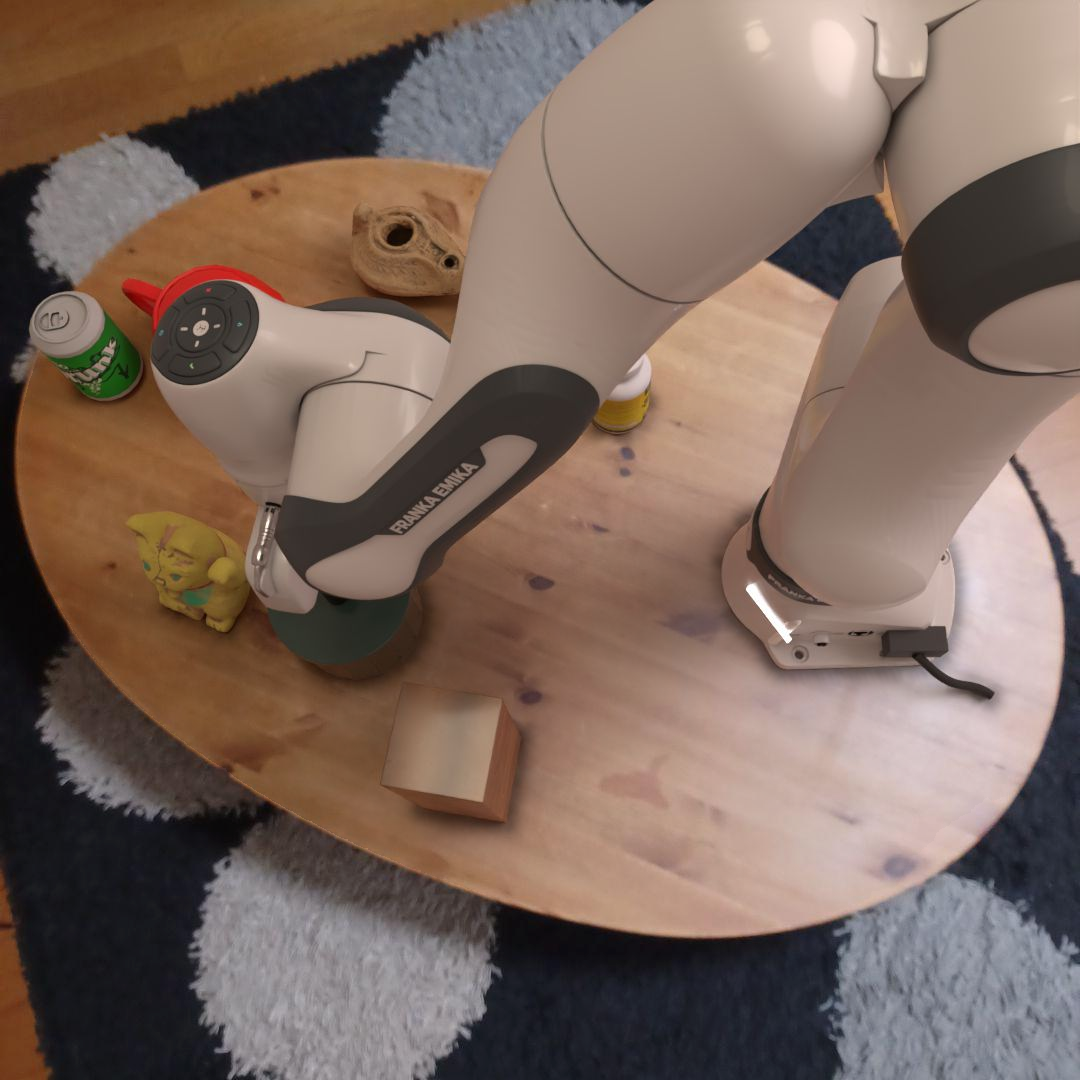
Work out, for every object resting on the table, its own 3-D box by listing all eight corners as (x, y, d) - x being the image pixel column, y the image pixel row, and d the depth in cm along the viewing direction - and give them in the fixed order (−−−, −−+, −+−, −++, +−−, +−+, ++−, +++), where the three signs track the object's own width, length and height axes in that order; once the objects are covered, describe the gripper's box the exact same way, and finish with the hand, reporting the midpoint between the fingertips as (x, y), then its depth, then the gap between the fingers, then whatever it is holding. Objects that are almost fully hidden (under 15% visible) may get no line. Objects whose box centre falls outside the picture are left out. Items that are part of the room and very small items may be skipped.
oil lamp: (461, 328, 112) (452, 287, 104) (339, 293, 114) (321, 250, 107) (496, 249, 115) (489, 203, 108) (376, 216, 118) (361, 169, 110)
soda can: (80, 352, 114) (23, 292, 102) (145, 340, 114) (96, 278, 102) (81, 411, 111) (23, 356, 100) (149, 398, 111) (98, 342, 100)
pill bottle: (642, 440, 106) (647, 387, 95) (582, 430, 107) (580, 377, 96) (652, 386, 108) (658, 328, 97) (593, 377, 109) (593, 318, 98)
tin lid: (426, 539, 95) (417, 522, 91) (395, 677, 91) (384, 666, 87) (290, 519, 97) (276, 501, 92) (253, 654, 92) (236, 642, 88)
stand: (521, 737, 96) (502, 697, 78) (506, 822, 94) (483, 803, 75) (440, 723, 97) (402, 681, 78) (422, 808, 95) (379, 785, 76)
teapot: (112, 375, 112) (57, 316, 101) (187, 266, 117) (142, 198, 105) (304, 460, 108) (269, 408, 96) (374, 343, 112) (349, 280, 100)
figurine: (153, 604, 103) (83, 557, 89) (197, 530, 105) (135, 473, 91) (248, 647, 101) (191, 605, 87) (290, 570, 103) (242, 518, 89)
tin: (434, 570, 103) (420, 542, 95) (408, 689, 99) (391, 670, 91) (317, 552, 104) (293, 523, 96) (286, 669, 100) (259, 649, 92)
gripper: (293, 589, 68) (344, 640, 81) (360, 330, 75) (398, 414, 88) (205, 577, 69) (270, 629, 82) (279, 321, 76) (329, 406, 89)
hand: (337, 516), depth 85 cm, fingers open, 8 cm apart
